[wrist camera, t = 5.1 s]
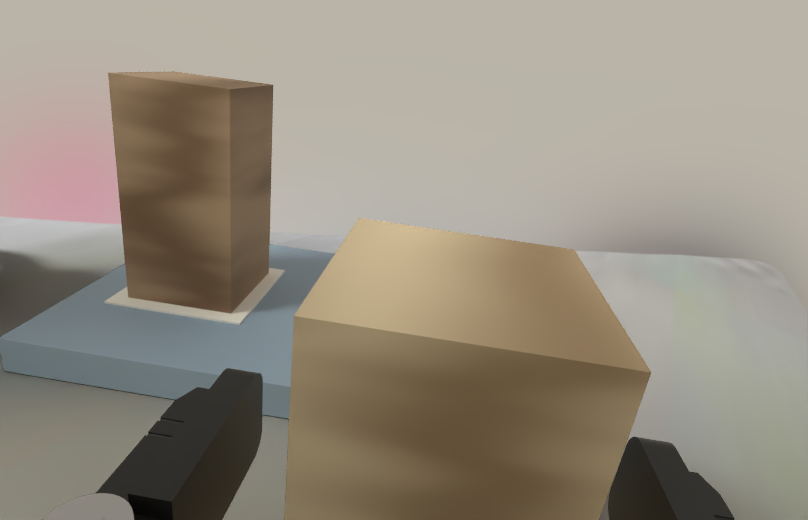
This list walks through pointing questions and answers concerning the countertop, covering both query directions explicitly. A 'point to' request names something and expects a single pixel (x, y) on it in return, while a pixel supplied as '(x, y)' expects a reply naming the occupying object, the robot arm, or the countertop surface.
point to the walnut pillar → (193, 186)
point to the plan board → (169, 336)
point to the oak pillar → (456, 382)
